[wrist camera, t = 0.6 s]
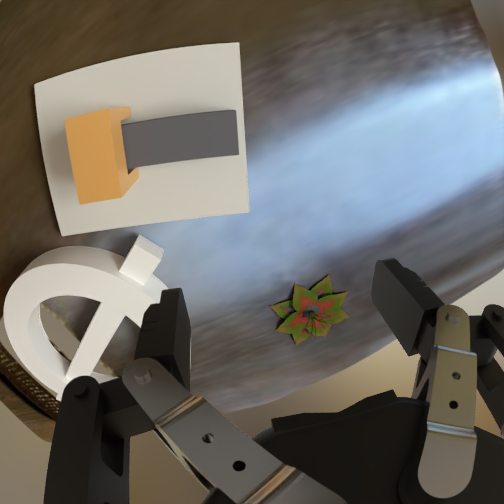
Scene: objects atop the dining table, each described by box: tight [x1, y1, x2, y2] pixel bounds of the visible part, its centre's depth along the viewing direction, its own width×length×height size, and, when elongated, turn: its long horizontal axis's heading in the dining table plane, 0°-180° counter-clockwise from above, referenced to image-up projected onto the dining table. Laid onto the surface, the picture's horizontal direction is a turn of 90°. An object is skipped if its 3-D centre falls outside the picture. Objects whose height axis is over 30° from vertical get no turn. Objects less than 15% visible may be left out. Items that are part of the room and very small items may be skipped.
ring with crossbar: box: [4, 235, 191, 401], centre depth 38 cm, size 28×28×5 cm
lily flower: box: [269, 275, 349, 345], centre depth 41 cm, size 12×12×5 cm
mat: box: [34, 43, 249, 236], centre depth 29 cm, size 18×22×2 cm
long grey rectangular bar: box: [121, 110, 239, 169], centre depth 27 cm, size 4×14×4 cm, turn 93°
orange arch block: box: [65, 106, 139, 205], centre depth 25 cm, size 7×4×7 cm, turn 3°
